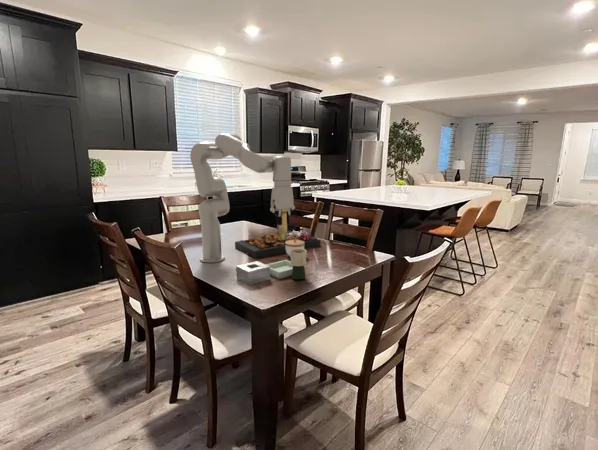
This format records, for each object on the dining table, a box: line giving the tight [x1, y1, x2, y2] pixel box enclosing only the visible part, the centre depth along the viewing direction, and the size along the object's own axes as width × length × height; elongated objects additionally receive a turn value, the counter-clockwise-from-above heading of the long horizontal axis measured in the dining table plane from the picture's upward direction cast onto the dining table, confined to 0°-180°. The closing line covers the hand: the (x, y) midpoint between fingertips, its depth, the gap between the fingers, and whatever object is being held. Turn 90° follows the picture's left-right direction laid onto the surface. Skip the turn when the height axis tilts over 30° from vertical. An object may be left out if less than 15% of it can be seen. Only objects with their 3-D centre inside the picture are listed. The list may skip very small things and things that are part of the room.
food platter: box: [234, 229, 321, 259], centre depth 206 cm, size 45×25×10 cm, turn 126°
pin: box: [278, 209, 288, 240], centre depth 158 cm, size 5×5×14 cm
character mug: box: [290, 249, 308, 280], centre depth 153 cm, size 11×7×13 cm, turn 26°
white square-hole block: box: [235, 260, 271, 286], centre depth 152 cm, size 10×11×6 cm
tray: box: [265, 259, 293, 280], centre depth 162 cm, size 13×14×3 cm
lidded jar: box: [285, 239, 305, 258], centre depth 187 cm, size 11×11×9 cm
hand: (282, 223), depth 158 cm, fingers closed on pin, 3 cm apart
